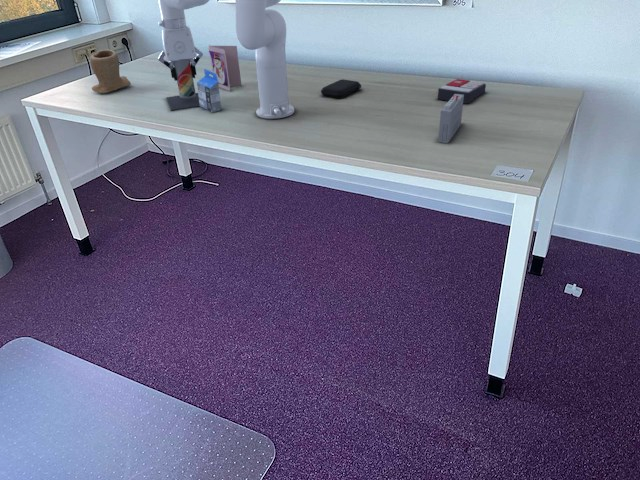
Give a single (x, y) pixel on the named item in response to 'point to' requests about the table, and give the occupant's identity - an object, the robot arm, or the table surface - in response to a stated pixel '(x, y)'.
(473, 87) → the grey and red box
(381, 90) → the table surface
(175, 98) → the mat
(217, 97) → the label tape box
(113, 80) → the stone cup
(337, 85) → the carrying case
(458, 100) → the cassette player
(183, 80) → the lotion bottle
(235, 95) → the table surface
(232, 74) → the greeting card
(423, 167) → the table surface
